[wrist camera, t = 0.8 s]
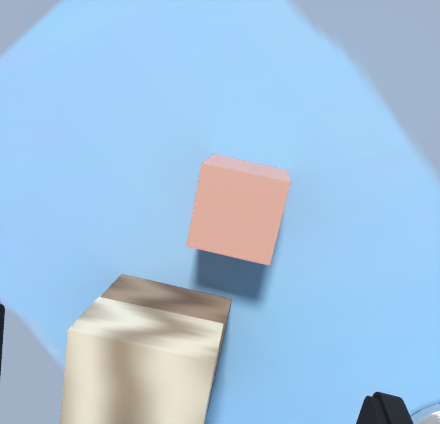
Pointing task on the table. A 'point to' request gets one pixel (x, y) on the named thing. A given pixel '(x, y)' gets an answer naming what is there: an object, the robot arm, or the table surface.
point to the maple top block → (138, 366)
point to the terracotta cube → (238, 208)
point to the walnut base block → (171, 301)
